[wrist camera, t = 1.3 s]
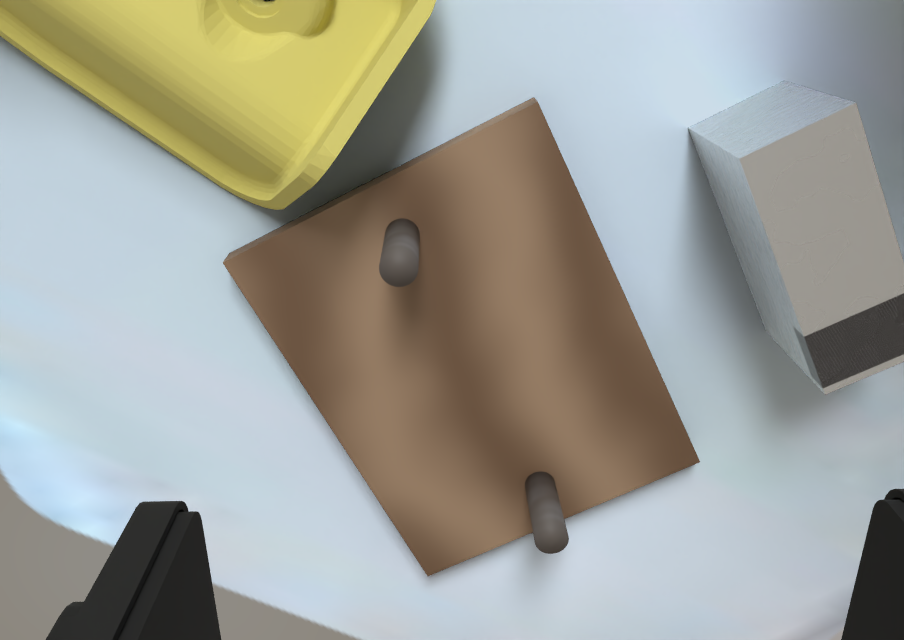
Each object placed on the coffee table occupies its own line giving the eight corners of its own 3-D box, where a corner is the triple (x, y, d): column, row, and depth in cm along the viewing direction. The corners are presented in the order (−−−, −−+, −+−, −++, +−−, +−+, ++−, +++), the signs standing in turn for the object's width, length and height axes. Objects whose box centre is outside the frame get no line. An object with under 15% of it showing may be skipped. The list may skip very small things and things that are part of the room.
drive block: (782, 80, 32) (856, 102, 26) (852, 292, 35) (929, 350, 30) (687, 127, 33) (739, 158, 27) (765, 330, 36) (825, 394, 31)
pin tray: (533, 97, 32) (552, 119, 27) (692, 447, 38) (729, 515, 33) (229, 253, 34) (196, 299, 29) (427, 559, 40) (427, 638, 36)
